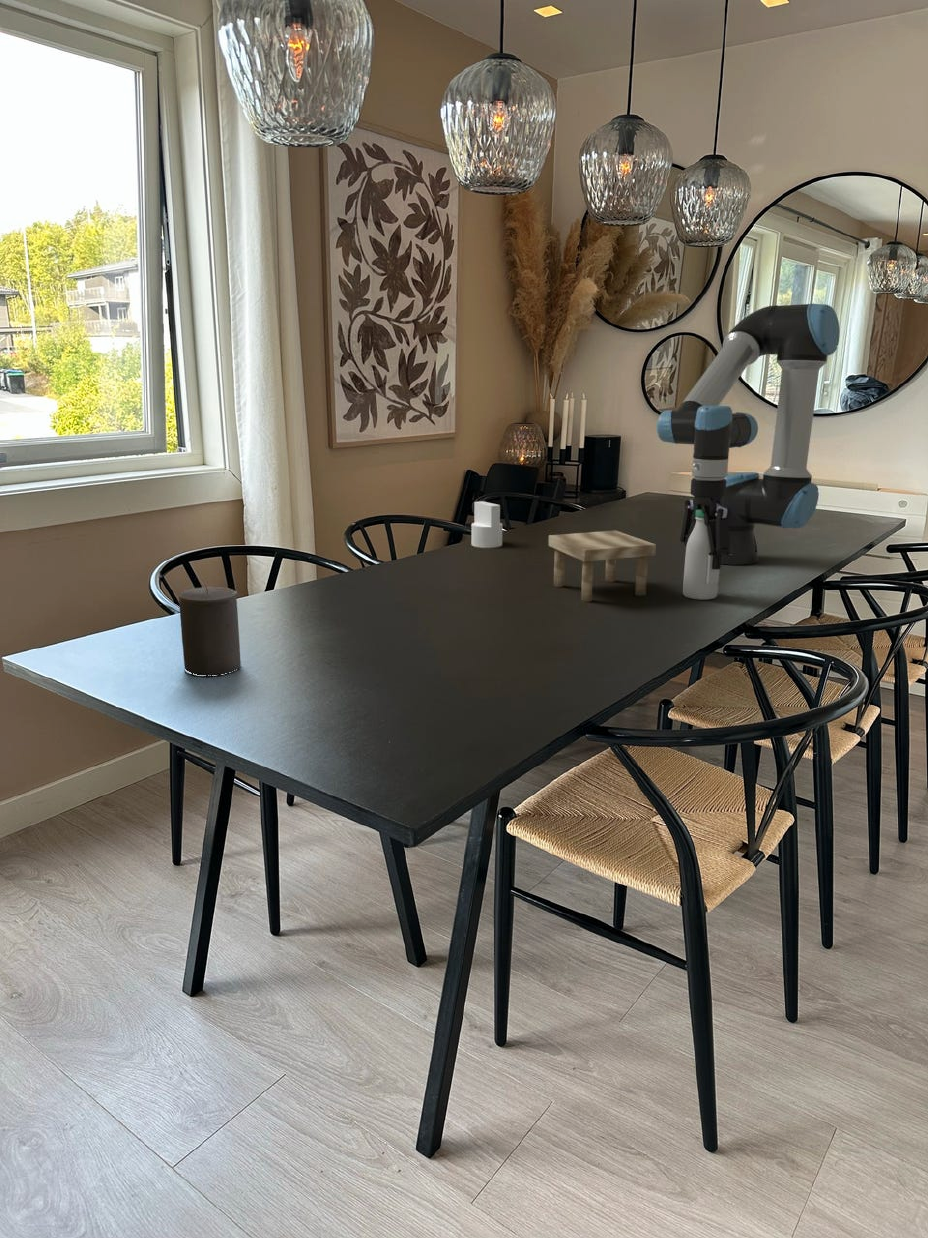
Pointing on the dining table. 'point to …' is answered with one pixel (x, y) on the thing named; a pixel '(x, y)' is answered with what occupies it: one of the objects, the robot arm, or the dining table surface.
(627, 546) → the oak footstool
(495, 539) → the cylinder with rectangular tab
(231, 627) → the pillar candle
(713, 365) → the robot arm
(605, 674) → the dining table surface
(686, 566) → the milk bottle
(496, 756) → the dining table surface
